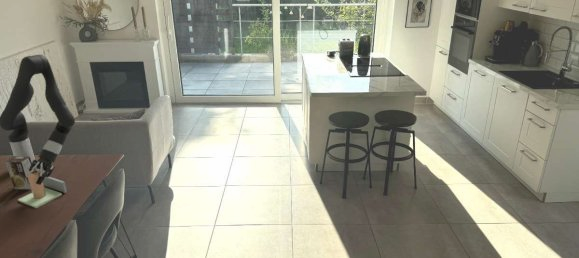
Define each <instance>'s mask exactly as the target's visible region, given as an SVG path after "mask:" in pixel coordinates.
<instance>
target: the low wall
mask: <svg viewBox="0 0 579 258" xmlns="http://www.w3.org/2000/svg"><path fill="white" fill-rule="evenodd" d="M43 186H44V187H45V188H48V189H51V190H54V191H57V192H58V191H59V192H60V193H64V194H67V193H68V188H67V185H66V182H65V181H63V180H60V179H58V178H54V177H51V176H49V177H46V178H44V180H43Z"/></svg>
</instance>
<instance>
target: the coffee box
mask: <svg viewBox="0 0 579 258" xmlns="http://www.w3.org/2000/svg"><path fill="white" fill-rule="evenodd" d="M31 164H32V162H31V159H30V157H24V156H14V155H13V157H11V158H9V159H8V160H6V161H5V165H6V168H7V170H8V174H9V177H10V180H11V182H12V185H13V187H14V190H31V186H30V183H29V181H28V180H27V179H28V177H27V176H28V175H29V174H30V171H29V168H30V166H31ZM32 169H33V168H32Z"/></svg>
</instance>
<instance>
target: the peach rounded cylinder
mask: <svg viewBox="0 0 579 258" xmlns="http://www.w3.org/2000/svg"><path fill="white" fill-rule="evenodd" d="M40 174H41V172H40V171H39V172H35V173H31V174H29V175H28V176H27V177H28V180H29V183H30V186H31V189H30V190H31V193H33V196H34V198H35V199H40V198H43V197H45V196H46V192H45V189H44V187H45V186H44V184H43V182H42V183H41V185H39V184H36V182H37V180H38V178H39V176H40Z"/></svg>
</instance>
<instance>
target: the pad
mask: <svg viewBox="0 0 579 258" xmlns="http://www.w3.org/2000/svg"><path fill="white" fill-rule="evenodd" d="M44 189H45V192H46V196H45V197H43V198H40V199H35V198H34V196H33V193H32V192H31V193H28V194H27V195H25V196H22V197H20V198H18V199H17V200H18V202H20V203H22V204H25V205H26V206H30V207H33V208H34V209H39V208H40V207H42V206H43V205H45V204H47V203H50V202H51V201H53V200H55V199H57V198H59V197H60V196H62V192H60V191H59V192H58V191H57V190H55V189H52V188H49V187H46V186H44Z"/></svg>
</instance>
